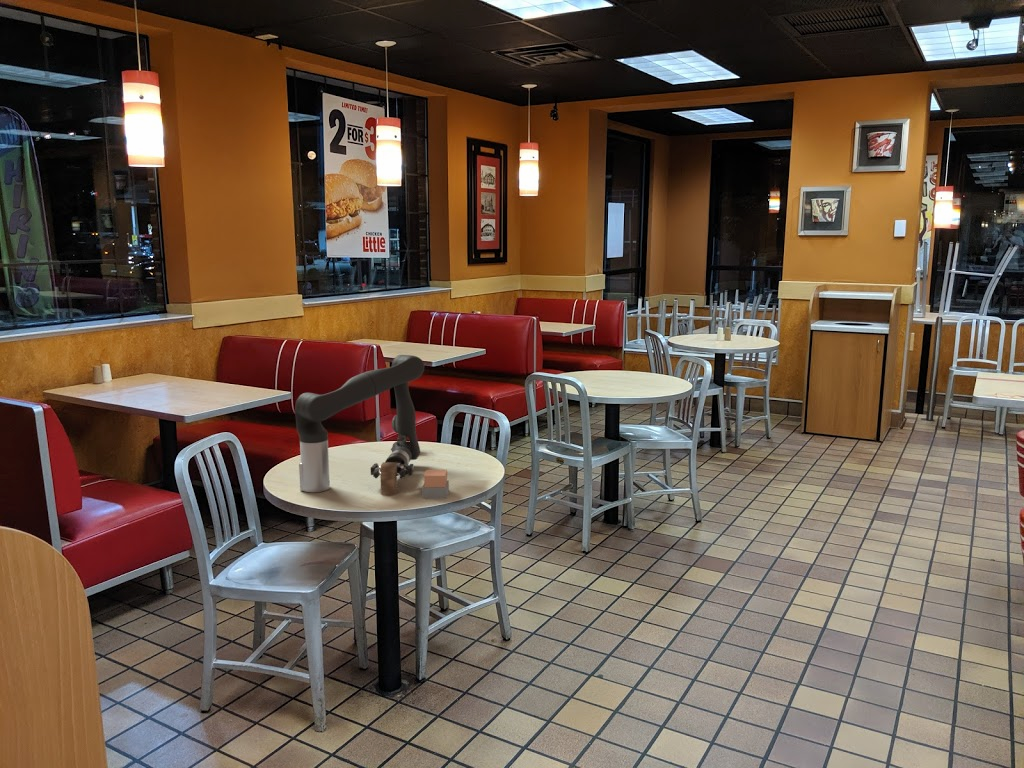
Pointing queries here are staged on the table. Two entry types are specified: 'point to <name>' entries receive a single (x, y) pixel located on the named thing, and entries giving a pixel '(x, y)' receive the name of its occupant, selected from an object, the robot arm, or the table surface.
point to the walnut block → (388, 478)
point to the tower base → (435, 491)
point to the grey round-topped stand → (394, 427)
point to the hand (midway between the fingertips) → (388, 475)
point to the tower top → (435, 478)
